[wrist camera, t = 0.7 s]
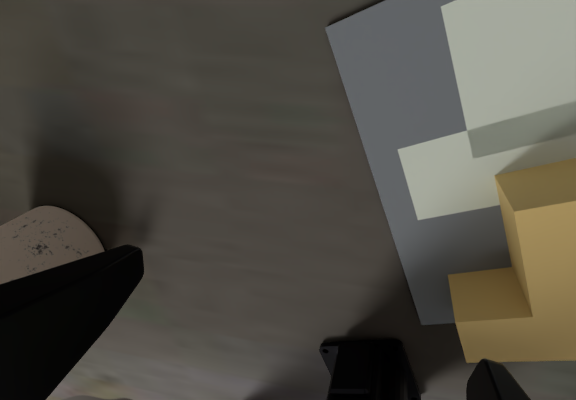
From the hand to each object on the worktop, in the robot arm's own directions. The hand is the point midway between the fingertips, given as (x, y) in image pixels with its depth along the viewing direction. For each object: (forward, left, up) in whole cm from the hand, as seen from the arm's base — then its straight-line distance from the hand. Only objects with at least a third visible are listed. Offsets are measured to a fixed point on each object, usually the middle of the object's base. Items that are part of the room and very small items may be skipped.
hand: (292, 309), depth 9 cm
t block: (-8, -8, -13) cm, 17 cm away
